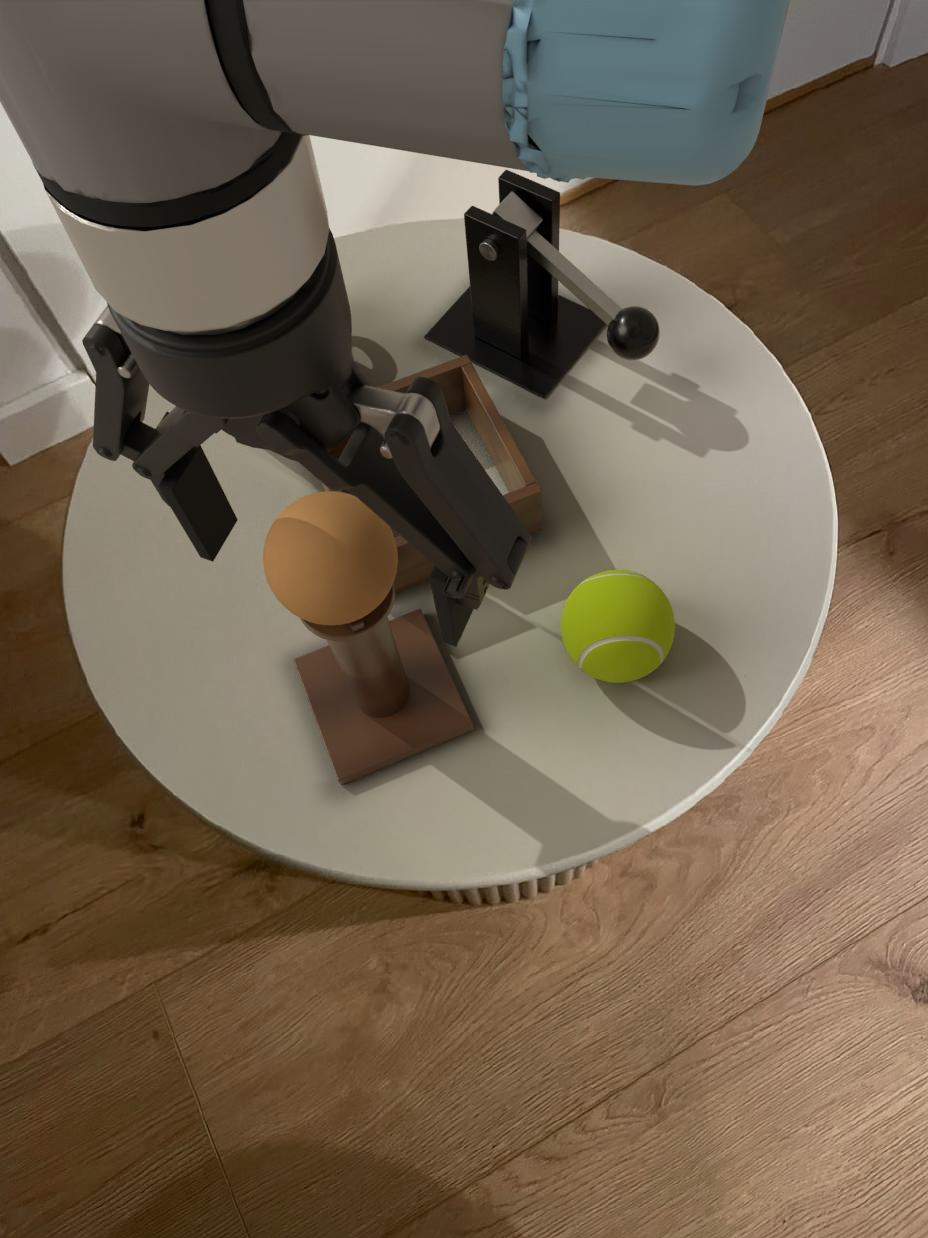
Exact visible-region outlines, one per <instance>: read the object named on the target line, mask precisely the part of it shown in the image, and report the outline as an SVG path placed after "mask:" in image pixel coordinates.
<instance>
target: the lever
mask: <svg viewBox="0 0 928 1238" xmlns="http://www.w3.org/2000/svg"><path fill="white" fill-rule="evenodd" d="M491 214H493V215H495V216H497V217H499V218H501V219H504V220H506V221H508V222H510V223H513V224H515V225H517V226H519V227H522V228H524V229H526V232H527V253H528V254H529V255H531V256H532V257H533V258H534V259H535V260H536V261H537V262H538V263H539V264H540V265H542V266H543V267H544V268H545V269H546V270H547V271H548V272H549V273H550V274H552V275H553V276H554V277H555V278H556V279H557V280H558V283H560V284H562V286H564V288H566V289H567V290H568V291H569V292H570V293H571V294H572V295H573V296H575V297H576V298H577V299H578V300H579V301H580V302H581V303H582V304H584V306H585V307H586V308H588V309H590V310H591V311H593V312H594V313H595V314H596V315H597V316H598V317H599V318H600V319H601V320H602V321H604V322H605V323H606V324H605V325H607V330H606V341H607V343H608V347H609V349H610V350H611V351H612V352H613V354H614V355H616V357H618V358H620V359H622V360H626V361H632V362H633V361H640V360H642V359H644V358H646V357H648V356H649V355H650V354H651V353H652V352H653V351H654V350H655V348H656V347H657V345H658V343H659V339H660V334H661V330H660V325H659V324H660V323H659V322H658V319H657V318H656V316H655V315H654V313H652V312H651V311H650V310H649V309H647V308H645V307H642V306H638V305H633V306H627V307H624V308H622V307H621V306H620V305H619V304H617V303H616V302H615V300H613V299H612V298H611V297H610V296H609V295H608V294H606V293H605V292H604V291H603V290H602V289H601V288H600V287H599V286H598V285H597V284H595V283H594V282H593V281H592V280H591V279H590V278H589V277H588V276H587V275H585V273H583V272H582V271H581V270H580V269H579V268H578V267H577V266H575V264H573V262H571V261H570V260H569V259H568V258H567V257H565V255H563V254H562V253H561V252H560V250H559V251H558V250H557V249H556V248H554V247H553V246H552V245H551V244H550V243H549V242H548V241H547V240H546V239H545V238H543V237H542V236H541V235H540V234H539V233H538V232H537V231H536V230H537V228H538V227H539V225H540V224H541V222H542V221H543V219H542V218H541V217H540V216H539V215H538V214H537V213H536V212H535V211H534V210H533V209H532V208H530V207H529V206H528V205H527V204H526V203H525V202H524V201H523V200H522V199H521V198H519V197H518V196H517V195H516V194H515V193H514V192H513V191H512V192H510V194H509V195H508V196H507V197H506V198H505V199H504V200H503V201H502V202H501V203H500V204H499V203H498V205H497V206H496V207H495V208H494V209H493V211H492V213H491Z"/></svg>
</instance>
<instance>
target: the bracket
mask: <svg viewBox="0 0 928 1238" xmlns="http://www.w3.org/2000/svg"><path fill="white" fill-rule="evenodd" d="M497 182H498V205H499V204H500V203H501V202H502V201H503V200H504V199H505V198H506V197H507V196H508V195H509V194H510V192H512V191H513V192H514V193H515V194H516V195H517V196H518V197H519V198H521V199H522V200H523V201H524V202H525V203H526V204H527V205H528V206H529V207H530V208H532V209H533V210H534V211H535V212H536V213H537V214H538V215H539V216H540V217H541V218H542V219H543V221H542V222H541V224H540V225H539V227H538V228H537V230H536V231H537V232H538V233H539V234H540V235H541V236H542V237H543V238H545V239H546V240H547V241H548V242H549V243H550V244H551V245H552V246H553V247H554V248H556V249H557V250H558V251H559V252H560V229H561V228H560V227H561V226H560V225H561V223H560V221H561V219H560V218H561V192H560V191H557V190H556V189H553V188H551V187H548V186H546V185H544V184H541V183H539V182H537V181H535V180H532V179H529V178H527V177H525V176H523V175H521V174H518V173H515V172H513V171H511V170H509V169H504V171H503V172H501V174H500V175H499V176H498V178H497ZM463 221H464V233H465V243H466V256H467V257H466V258H467V268H468V278H469V286H468V287H467V288H466V290H465V291H464V292H463V293H462V294H461V295H460V296H459V297H458V299H456V301H455V302H454V303H453V304H451V306H450V307H449V308H448V310H446V311H445V313H444V314H443V315H442V316H441V317H440V318H439V319H438V320H437V322H436V323H434V325H433V326H432V327H431V328H430V329H429V330H428V331H427V333H426V334H425V335H423V338H424V339H425V340H427V341H428V342H430V343H433V344H435V345H436V346H438V347H440V348H442V349H444V350H446V351H448V352H450V353H452V354H454V355H456V356H457V357H461V356H464V355H468V357H469V359H470V361H471V363H472V364H474V365H476V366H477V367H480V368H481V369H484V370H485V371H488V372H490V373H491V374H493V375H496V376H498V377H499V378H502V379H503V380H505V381H507V382H510V383H511V384H513V385H515V386H517V387H519V388H521V389H523V390H525V391H527V392H529V393H531V394H532V395H535V396H536V397H539V398H541V399H543V400H544V399H545V398H546V397H547V396H548V394H549V393H551V391H552V390H553V389H554V388H555V386H556V385H557V384H558V383H559V381H560V380H561V379H562V377H564V375H565V374H566V373H567V372H568V371H569V369H570V368H571V367H572V365H573V364H574V363H575V362H576V361H577V360H578V358H579V357H580V355H582V353H583V352H584V351H585V349H586V348H587V347H588V346H589V345H590V344H591V342H593V340H594V339H595V337H596V336H597V335H598V334H599V333H600V331H601V330H602V329H603V328H604V327H605V325H607V324H606V323H605V322H604V321H602V320H601V319H600V318H599V317H598V316H597V315H596V314H595V313H594V312H593V311H591V310H590V309H589V308H588V307H587V306H585V305H582V304H580V303H577V302H575V301H573V300H571V299H569V298H567V297H564V296H563V295H561V294H559V281H558V280H557V279H556V278H555V277H554V276H553V275H552V274H550V273H549V272H548V271H547V270H546V269H545V268H544V267H543V266H542V265H540V264H539V263H538V262H537V261H536V260H535V259H534V258H533V257H532V256H531V255H529V254H528V253H527V232H526V229H524V228H522V227H519V226H517V225H515V224H513V223H510V222H508V221H506V220H504V219H501V218H499V217H497V216H495V215H493V214H492V213H491V212H488V211H486V210H483V209H481V208H479V207H477V206H475V205H470V207H469V208H468V209H467V210H466V211H465V212H464V214H463Z"/></svg>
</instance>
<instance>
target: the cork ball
mask: <svg viewBox="0 0 928 1238" xmlns="http://www.w3.org/2000/svg"><path fill="white" fill-rule="evenodd" d="M394 537H395V536H394V533H393V529H392V528H391V527H390V526H389V525H388V524H387V523H386V522H385V521H383V520H382V519H381V518H380V517H379V516H378V515H376V514H375V513H374V512H373V511H372V510H371V509H370V508H368V507H367V506H366V505H365V504H364V503H363V502H362V501H360V500H359V499H358V498H357V497H356V496H355V495H353V494H351V493H346V492H343V491H342V492H330V491H326V492H325V491H318V492H313V493H310V494H307V495H304V496H302V497H300V498H298V499H296V500H294V501H293V502H291V503H290V504H288V505H287V506H286V507H285V508H284V509H283V510H282V511H281V512H280V513H279V514H278V515H277V516H276V517H275V519H274V520H273V522H272V523H271V525H270V527H269V529H268V531H267V534H266V537H265V540H264V545H263V550H262V564H263V565H262V566H263V572H264V576H265V579H266V582H267V584H268V586H269V589H270V591H271V593H272V594H273V595H274V596H275V599H277V601H278V602H279V603H280V604H281V606H283V607H284V608H285V609H286V610H287V611H289V612H290V613H291V614H293V615H294V616H296V617H297V618H299V619H300V618H301V619H304V620H306V621H308V622H312V623H315V624H321V625H342V624H347V623H350V622H353V621H356V620H358V619H361V618H363V617H364V616H366V615H368V614H369V613H370V612H372V611H373V610H374V609H376V608H377V607H378V606H379V605H380V604H381V603H382V601H383V600H384V599H385V598H386V596H387V595H388V593H389V591H390V589H391V587H392V585H393V582H394V580H395V576H396V573H397V565H398V552H397V546H396V541H395V538H394ZM301 619H300V620H301Z"/></svg>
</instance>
